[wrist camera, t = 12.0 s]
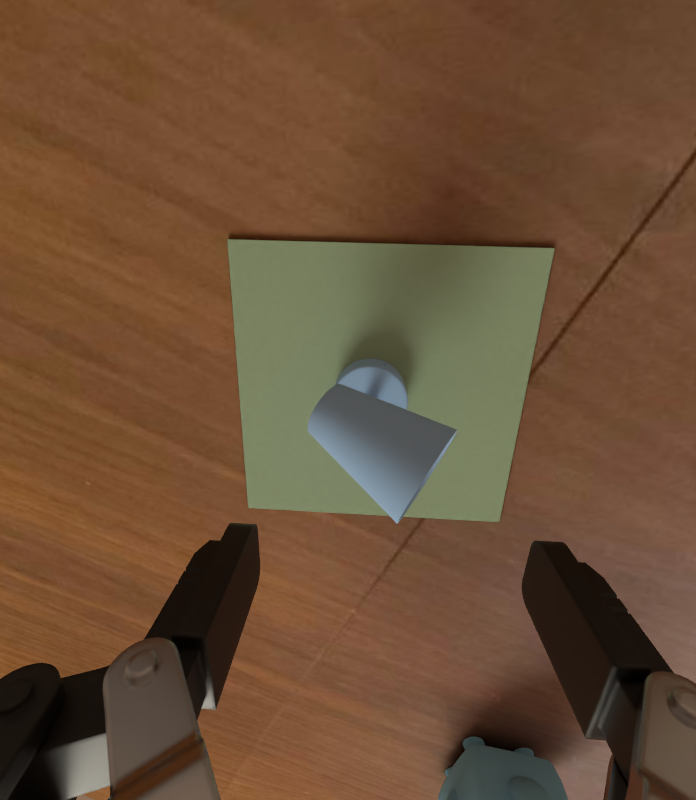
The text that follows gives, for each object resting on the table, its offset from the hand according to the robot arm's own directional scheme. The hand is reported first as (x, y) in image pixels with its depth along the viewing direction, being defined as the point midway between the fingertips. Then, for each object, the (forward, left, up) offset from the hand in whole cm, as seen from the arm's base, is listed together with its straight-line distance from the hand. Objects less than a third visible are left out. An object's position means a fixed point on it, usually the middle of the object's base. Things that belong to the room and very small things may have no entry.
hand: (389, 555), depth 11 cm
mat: (0, 0, -14) cm, 14 cm away
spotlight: (0, 0, -14) cm, 14 cm away
